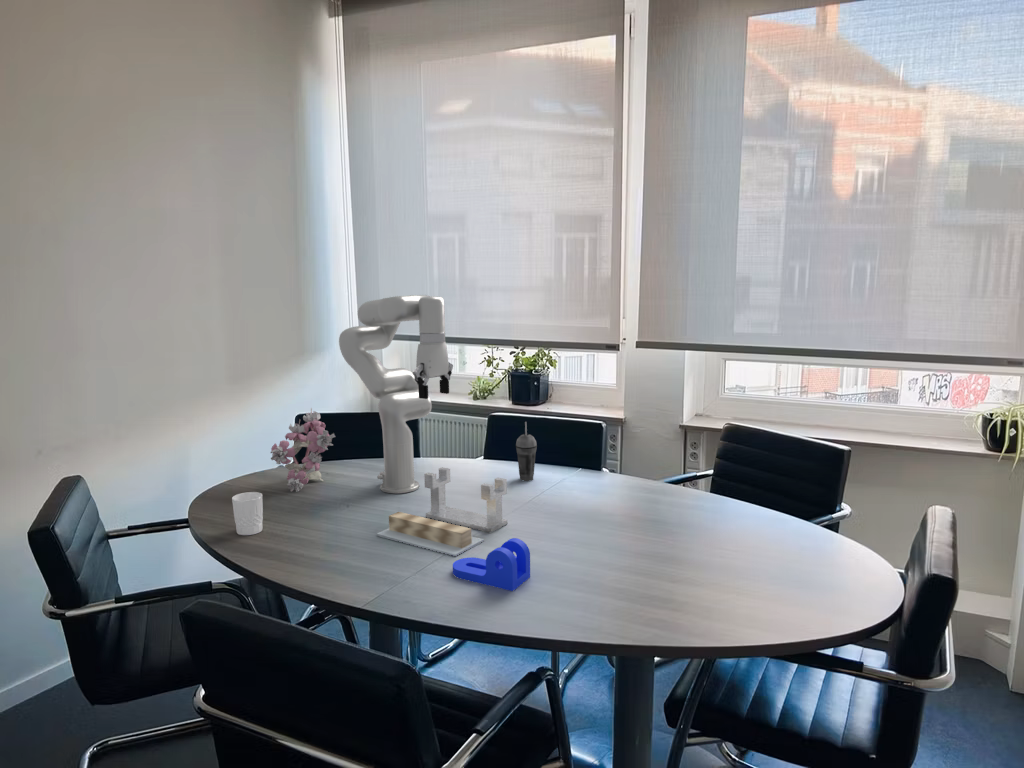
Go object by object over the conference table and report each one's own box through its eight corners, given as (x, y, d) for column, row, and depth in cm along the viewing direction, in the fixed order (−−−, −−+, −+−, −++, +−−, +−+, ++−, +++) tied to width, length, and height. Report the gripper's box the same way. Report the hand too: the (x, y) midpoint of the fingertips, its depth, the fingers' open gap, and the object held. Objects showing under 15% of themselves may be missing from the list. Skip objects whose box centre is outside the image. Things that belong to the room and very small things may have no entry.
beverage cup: (538, 476, 249) (537, 419, 246) (536, 482, 242) (536, 423, 238) (516, 475, 250) (516, 418, 246) (514, 482, 242) (514, 423, 239)
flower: (250, 479, 244) (256, 419, 231) (307, 458, 260) (316, 402, 248) (284, 515, 234) (292, 454, 222) (341, 491, 251) (352, 433, 238)
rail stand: (425, 517, 210) (424, 473, 207) (443, 509, 216) (442, 467, 214) (490, 532, 197) (490, 486, 195) (507, 523, 203) (506, 479, 201)
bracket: (530, 577, 169) (529, 541, 167) (512, 591, 162) (512, 553, 160) (465, 563, 178) (464, 528, 176) (445, 575, 171) (444, 539, 169)
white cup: (271, 528, 202) (268, 494, 201) (250, 538, 195) (247, 502, 194) (249, 524, 206) (247, 490, 204) (228, 534, 199) (225, 498, 197)
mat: (376, 535, 196) (376, 533, 196) (406, 522, 206) (406, 520, 206) (455, 556, 181) (455, 554, 181) (483, 541, 191) (483, 539, 191)
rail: (389, 529, 198) (388, 515, 198) (399, 525, 202) (398, 511, 201) (462, 548, 185) (461, 533, 184) (471, 543, 188) (471, 528, 187)
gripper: (441, 335, 223) (442, 390, 226) (403, 340, 209) (405, 399, 212) (460, 336, 219) (461, 392, 222) (423, 342, 205) (425, 401, 208)
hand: (434, 395), depth 217 cm, fingers open, 9 cm apart
